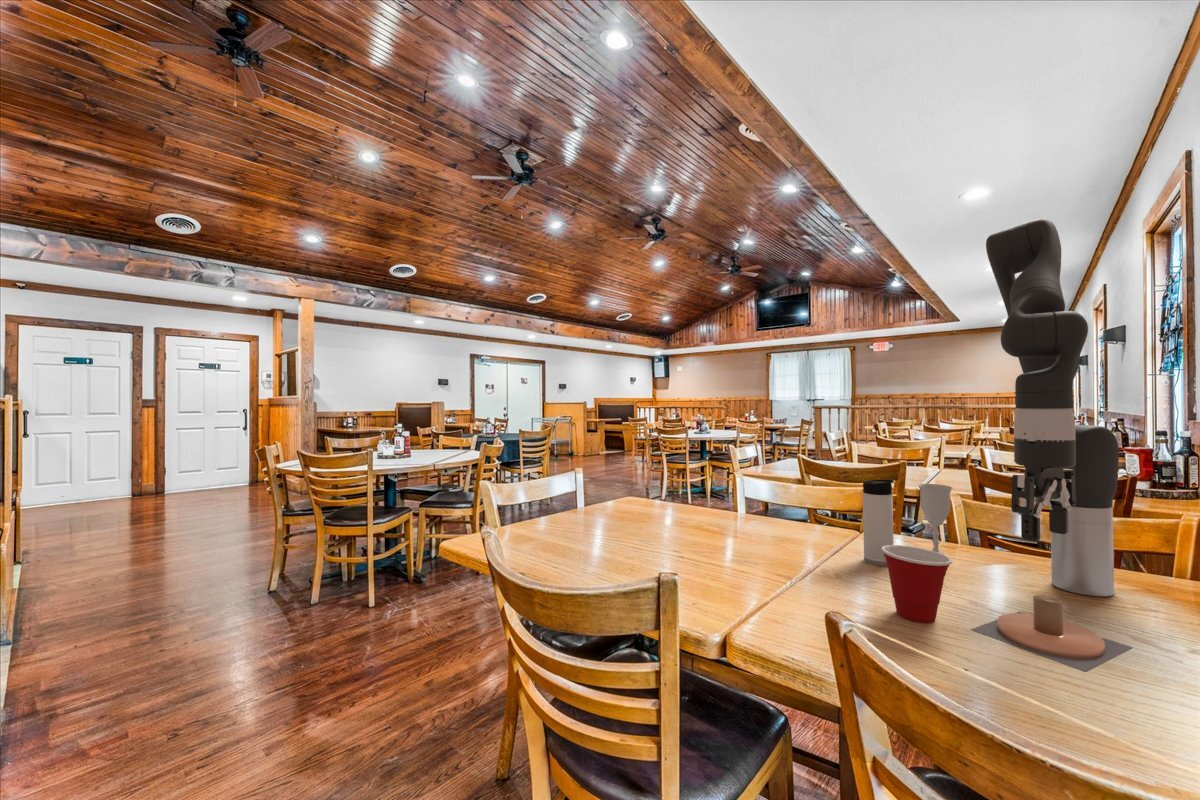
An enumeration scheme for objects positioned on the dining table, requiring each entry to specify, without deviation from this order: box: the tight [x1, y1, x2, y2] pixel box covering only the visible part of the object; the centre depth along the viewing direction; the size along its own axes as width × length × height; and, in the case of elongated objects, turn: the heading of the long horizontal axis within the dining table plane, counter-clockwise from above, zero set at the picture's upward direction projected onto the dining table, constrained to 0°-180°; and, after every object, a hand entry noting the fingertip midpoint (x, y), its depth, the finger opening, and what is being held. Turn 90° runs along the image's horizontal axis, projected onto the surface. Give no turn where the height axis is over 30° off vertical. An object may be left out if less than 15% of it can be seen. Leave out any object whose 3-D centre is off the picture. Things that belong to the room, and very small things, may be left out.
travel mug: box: [862, 478, 895, 567], centre depth 122 cm, size 6×7×20 cm
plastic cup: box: [882, 544, 953, 624], centre depth 91 cm, size 11×11×12 cm
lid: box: [996, 594, 1105, 658], centre depth 82 cm, size 13×13×6 cm
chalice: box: [917, 483, 953, 555], centre depth 122 cm, size 7×7×18 cm
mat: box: [970, 611, 1134, 673], centre depth 82 cm, size 15×15×1 cm
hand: (1044, 536), depth 82 cm, fingers open, 8 cm apart
